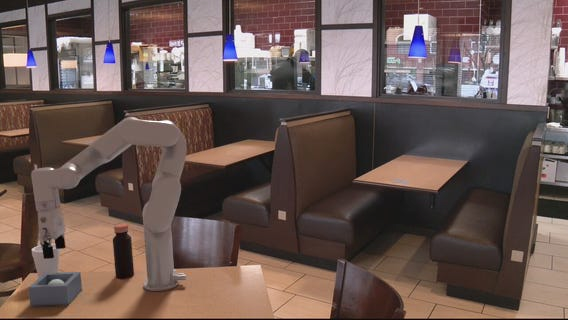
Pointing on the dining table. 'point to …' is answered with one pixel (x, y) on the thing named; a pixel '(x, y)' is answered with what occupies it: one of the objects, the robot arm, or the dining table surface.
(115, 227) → the bottle
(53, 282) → the ball
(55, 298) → the blue-grey open box
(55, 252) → the foam cup
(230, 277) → the dining table surface
